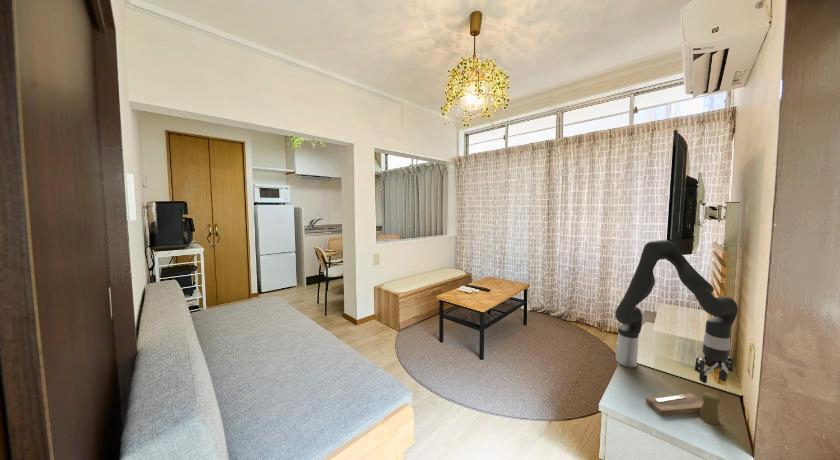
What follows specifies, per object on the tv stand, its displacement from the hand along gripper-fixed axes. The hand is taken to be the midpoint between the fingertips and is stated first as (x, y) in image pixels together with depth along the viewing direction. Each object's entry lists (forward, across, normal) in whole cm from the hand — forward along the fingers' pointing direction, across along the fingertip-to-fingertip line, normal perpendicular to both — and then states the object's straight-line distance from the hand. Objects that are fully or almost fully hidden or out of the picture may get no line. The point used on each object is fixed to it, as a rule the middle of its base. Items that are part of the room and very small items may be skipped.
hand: (712, 381), depth 120 cm
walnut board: (+17, +7, -8) cm, 20 cm away
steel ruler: (+15, +8, -10) cm, 19 cm away
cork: (+18, 0, 0) cm, 18 cm away
